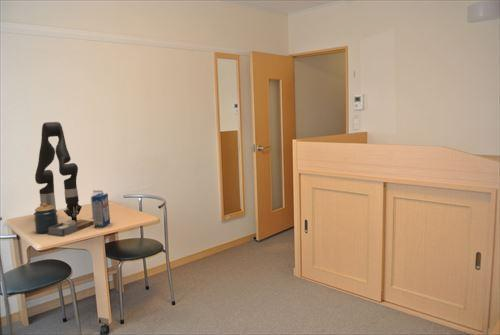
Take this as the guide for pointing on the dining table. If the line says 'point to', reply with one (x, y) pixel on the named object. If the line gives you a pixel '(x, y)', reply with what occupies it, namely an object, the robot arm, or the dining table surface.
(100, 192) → the milk carton
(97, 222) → the milk carton
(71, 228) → the tray
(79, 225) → the board
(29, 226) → the dining table surface
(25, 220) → the dining table surface
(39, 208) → the canister
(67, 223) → the tile
